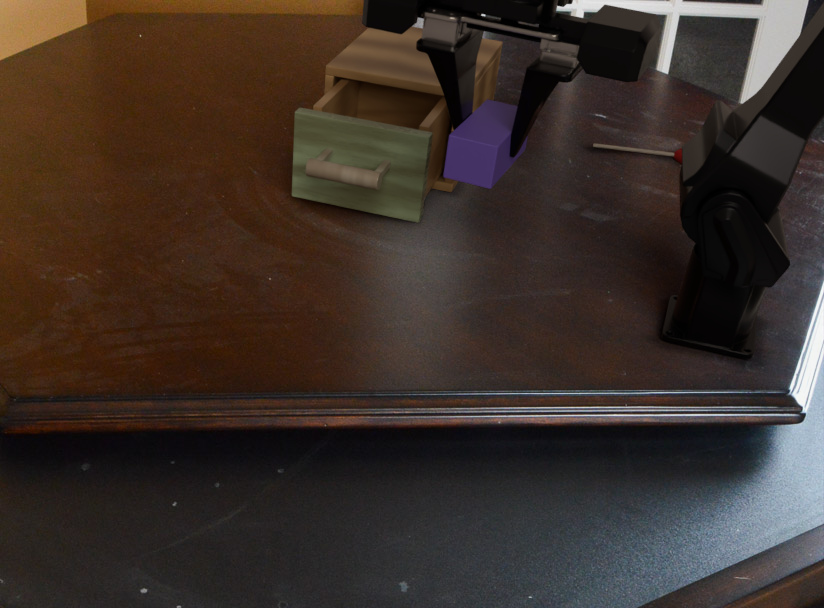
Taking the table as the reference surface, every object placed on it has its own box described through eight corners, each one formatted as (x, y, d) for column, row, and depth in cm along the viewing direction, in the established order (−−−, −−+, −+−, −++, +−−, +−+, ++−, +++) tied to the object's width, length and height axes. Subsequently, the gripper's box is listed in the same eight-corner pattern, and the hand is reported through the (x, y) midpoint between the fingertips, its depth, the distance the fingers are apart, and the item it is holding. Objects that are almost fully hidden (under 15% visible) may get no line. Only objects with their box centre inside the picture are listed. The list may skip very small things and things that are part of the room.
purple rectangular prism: (525, 150, 77) (533, 109, 75) (490, 189, 72) (498, 146, 70) (480, 139, 78) (487, 98, 76) (442, 177, 73) (448, 134, 71)
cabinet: (451, 192, 95) (465, 90, 89) (320, 166, 98) (325, 65, 92) (488, 136, 105) (503, 41, 99) (368, 113, 108) (376, 20, 102)
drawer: (404, 245, 85) (414, 157, 80) (272, 216, 87) (274, 130, 82) (458, 163, 97) (469, 83, 93) (342, 140, 100) (347, 62, 95)
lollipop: (593, 166, 101) (752, 185, 100) (595, 157, 101) (755, 176, 99) (591, 134, 107) (741, 152, 106) (593, 125, 107) (744, 143, 105)
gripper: (707, -99, 67) (643, 141, 77) (434, -142, 72) (408, 87, 83) (672, -65, 59) (606, 197, 69) (369, -116, 65) (349, 134, 75)
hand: (487, 149), depth 74 cm, fingers closed on purple rectangular prism, 3 cm apart
